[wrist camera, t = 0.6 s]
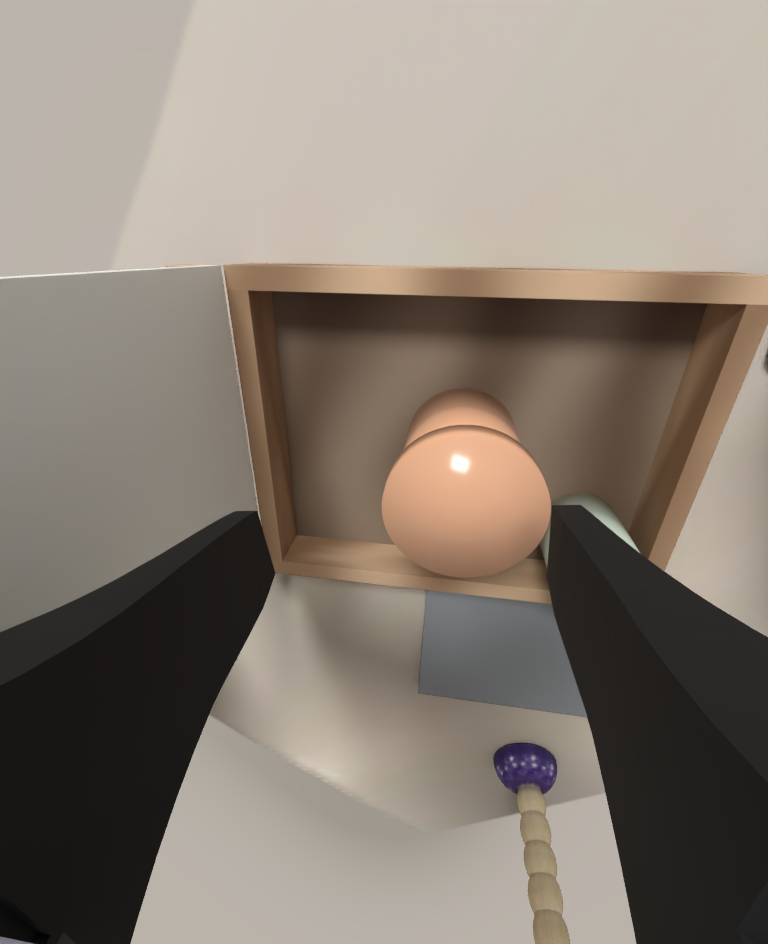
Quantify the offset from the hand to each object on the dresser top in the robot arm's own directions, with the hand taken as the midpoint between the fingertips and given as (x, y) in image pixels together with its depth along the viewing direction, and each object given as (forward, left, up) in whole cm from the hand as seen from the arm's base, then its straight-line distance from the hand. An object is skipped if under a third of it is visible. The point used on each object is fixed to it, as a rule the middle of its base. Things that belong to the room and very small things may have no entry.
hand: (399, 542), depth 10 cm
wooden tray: (-2, +1, -10) cm, 10 cm away
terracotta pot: (-2, +1, -9) cm, 10 cm away
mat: (-7, +14, -10) cm, 19 cm away
